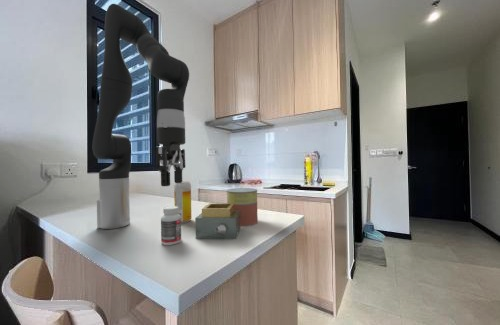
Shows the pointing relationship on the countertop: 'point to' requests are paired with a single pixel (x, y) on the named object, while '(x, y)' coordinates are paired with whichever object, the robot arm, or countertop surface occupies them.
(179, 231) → the pill bottle
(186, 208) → the beer can
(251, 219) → the canned food
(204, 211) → the gold grey hollow block
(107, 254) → the countertop surface
